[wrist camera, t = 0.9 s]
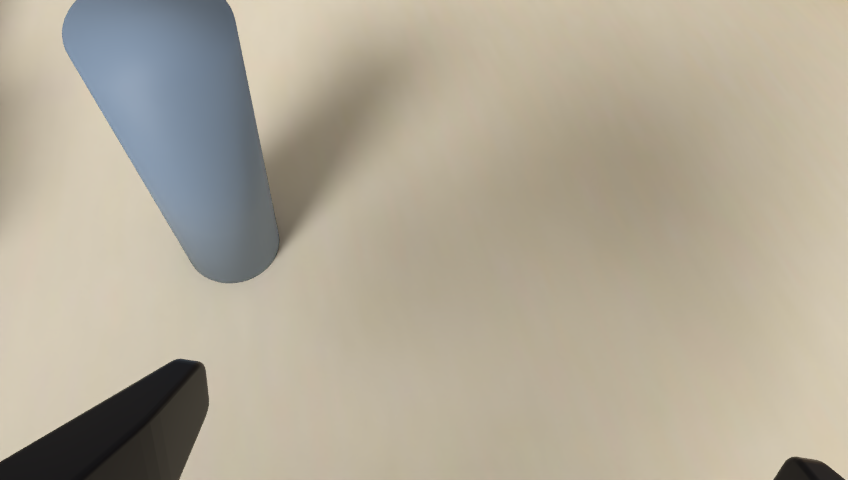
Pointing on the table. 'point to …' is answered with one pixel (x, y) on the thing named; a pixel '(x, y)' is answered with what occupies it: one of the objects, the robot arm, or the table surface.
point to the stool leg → (183, 122)
